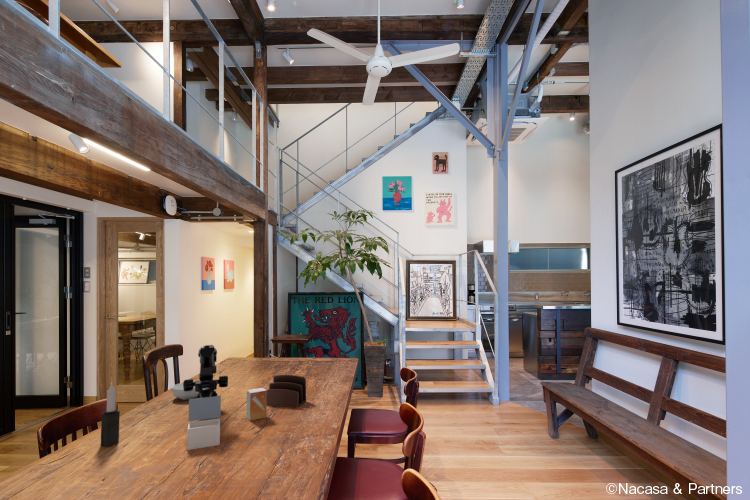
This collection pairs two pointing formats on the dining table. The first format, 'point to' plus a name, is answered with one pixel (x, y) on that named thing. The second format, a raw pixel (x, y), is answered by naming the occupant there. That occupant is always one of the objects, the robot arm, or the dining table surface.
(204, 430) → the storage box
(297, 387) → the letter holder
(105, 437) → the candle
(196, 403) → the lid
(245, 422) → the dining table surface
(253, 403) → the small box
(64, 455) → the dining table surface
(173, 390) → the cereal bowl
